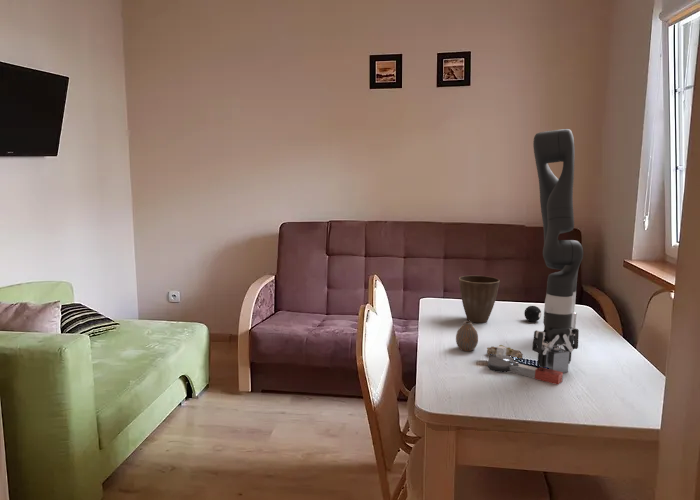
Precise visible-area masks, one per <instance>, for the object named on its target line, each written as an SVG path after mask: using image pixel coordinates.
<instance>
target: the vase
mask: <svg viewBox="0 0 700 500" xmlns="http://www.w3.org/2000/svg"><path fill="white" fill-rule="evenodd" d="M455 343H456V346H457V347H458V348H459V350H461V351H462V352H463V351H464V352H471V351H474V350H475V349H476V348H477V346H478V343H479V334H478V331H477V329H476V327H474V325H473V322H470V321H463V323H462V325H461V326H460V327H459V328H458V330H457V332H456V334H455Z"/></svg>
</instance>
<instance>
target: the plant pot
mask: <svg viewBox="0 0 700 500" xmlns="http://www.w3.org/2000/svg"><path fill="white" fill-rule="evenodd" d="M458 281H459V291H460V298H461V302H462V305H463V306H462V307H463V310H464V313H465V317H466V321H467V322H471V323H478V324H484V323H487V322H488V321H489V319H490V316H491V315H492V312H493V309H494V306H495V303H496V299H497V296H498V290H499V288H500V287H499V286H500V279H499V278H496V277H493V276H492V277H491V276H485V275H464V276H459V278H458Z"/></svg>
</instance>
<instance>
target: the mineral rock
mask: <svg viewBox="0 0 700 500" xmlns="http://www.w3.org/2000/svg"><path fill="white" fill-rule="evenodd" d="M499 346H503V347H505V346H504V345H502V344H500V345H499ZM499 346H491V347H486V349H487V350H486V351H487V352H486V354H487V355H488V356H489V355H490V354H497V347H499ZM506 355H508V356H511V357H517V358H521V359H523V355H524V354H523V353H522V351H521V350H517V349H514V348H511V347H509V346H508V347H506Z"/></svg>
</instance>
